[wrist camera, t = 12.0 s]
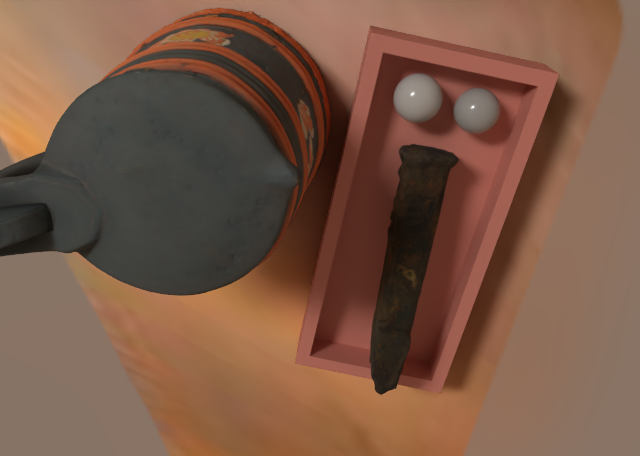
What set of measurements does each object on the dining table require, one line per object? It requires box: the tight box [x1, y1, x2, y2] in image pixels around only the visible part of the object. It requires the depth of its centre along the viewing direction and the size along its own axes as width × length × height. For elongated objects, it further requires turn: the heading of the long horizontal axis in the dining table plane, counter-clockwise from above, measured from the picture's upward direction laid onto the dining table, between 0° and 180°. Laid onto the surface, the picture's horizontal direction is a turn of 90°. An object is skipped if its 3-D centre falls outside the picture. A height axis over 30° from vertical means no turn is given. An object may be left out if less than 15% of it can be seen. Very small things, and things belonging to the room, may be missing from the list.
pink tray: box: [295, 26, 559, 393], centre depth 44 cm, size 26×12×4 cm, turn 169°
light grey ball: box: [393, 73, 443, 123], centre depth 39 cm, size 3×3×3 cm
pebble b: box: [453, 88, 500, 134], centre depth 40 cm, size 3×3×3 cm
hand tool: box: [369, 144, 459, 395], centre depth 43 cm, size 19×4×5 cm, turn 169°
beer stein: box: [0, 8, 331, 295], centre depth 35 cm, size 19×15×20 cm
